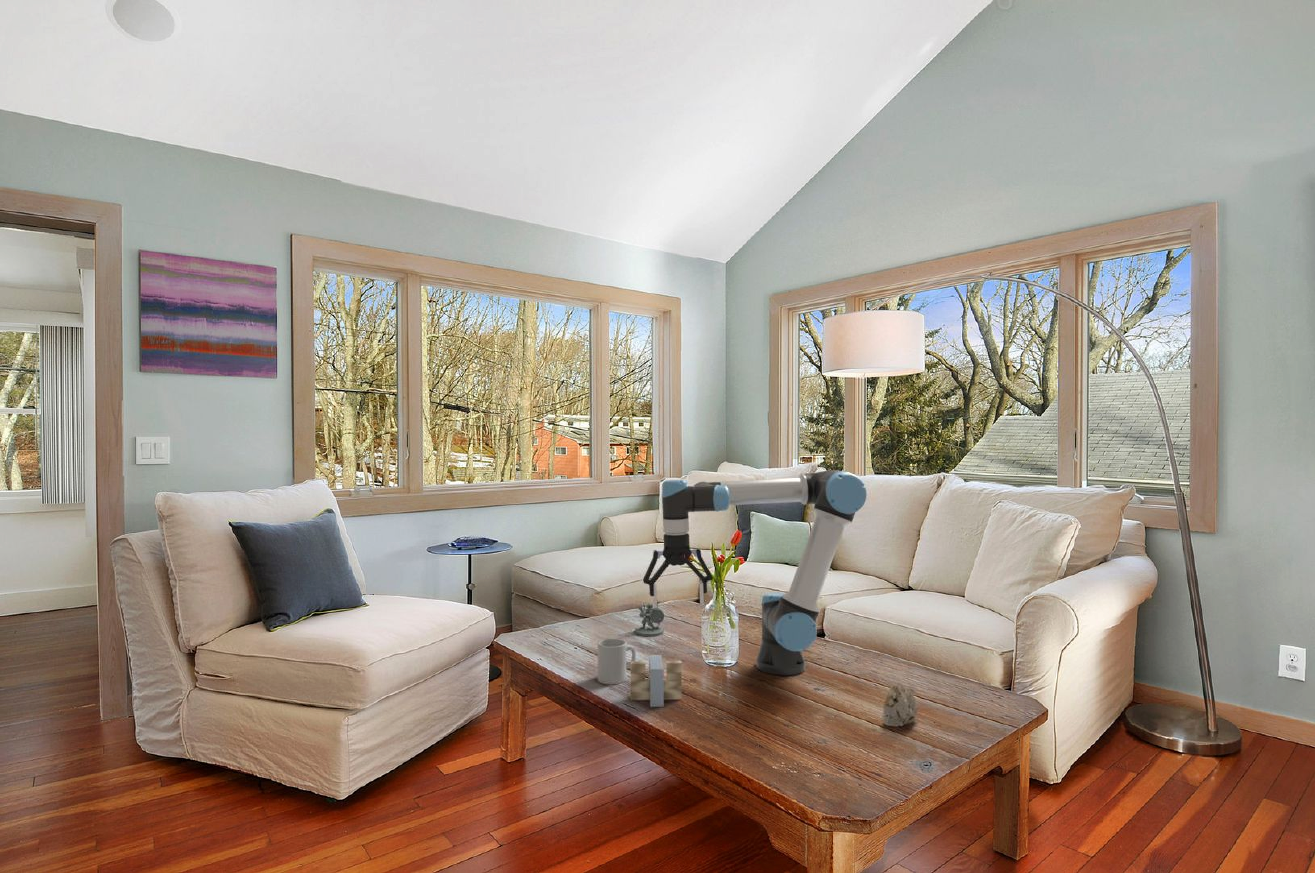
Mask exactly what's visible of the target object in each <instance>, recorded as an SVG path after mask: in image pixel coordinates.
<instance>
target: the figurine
mask: <svg viewBox="0 0 1315 873" xmlns="http://www.w3.org/2000/svg"><path fill="white" fill-rule="evenodd" d="M653 603H654V600H653ZM653 603H650V602H649V603H647V604H646V605H645V604H644V603H641V605H638V606H637V609H638V610H639V611H640V613H639V617H640V618H642V620H641V624H642V626H639V627H638V626H637V627H636V628H635V629H634V634H635V635H637V636H639V637H647V638H648V637H651V638H652V637H658V636H659V637H660V636H662V635H663V634H664V632H665V631H664V628H662V627H661V626H660V624H661V623H662V622H663V621H664V619H665V614H664V612H663V610H662V609H661V608H659V606H658V605H659V603H662V600H659V599H658V598H657V608H654V604H653ZM653 623H654V624H653ZM646 624H647V625H646ZM655 624H658V625H657V626H656V625H655Z"/></svg>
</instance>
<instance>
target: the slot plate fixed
mask: <svg viewBox="0 0 1315 873" xmlns="http://www.w3.org/2000/svg"><path fill="white" fill-rule="evenodd" d="M630 661H631V660H630ZM682 668H683V667H682V660H666V678H664V701H665V700H666V701H667V700H682V687H683V686H682V683H683V681H682V680H683V679H682V676H683V675H682V673H683V672H682V671H683V670H682ZM630 701H650V679H649V678H646V661H645V660H635V661H631V667H630Z"/></svg>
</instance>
